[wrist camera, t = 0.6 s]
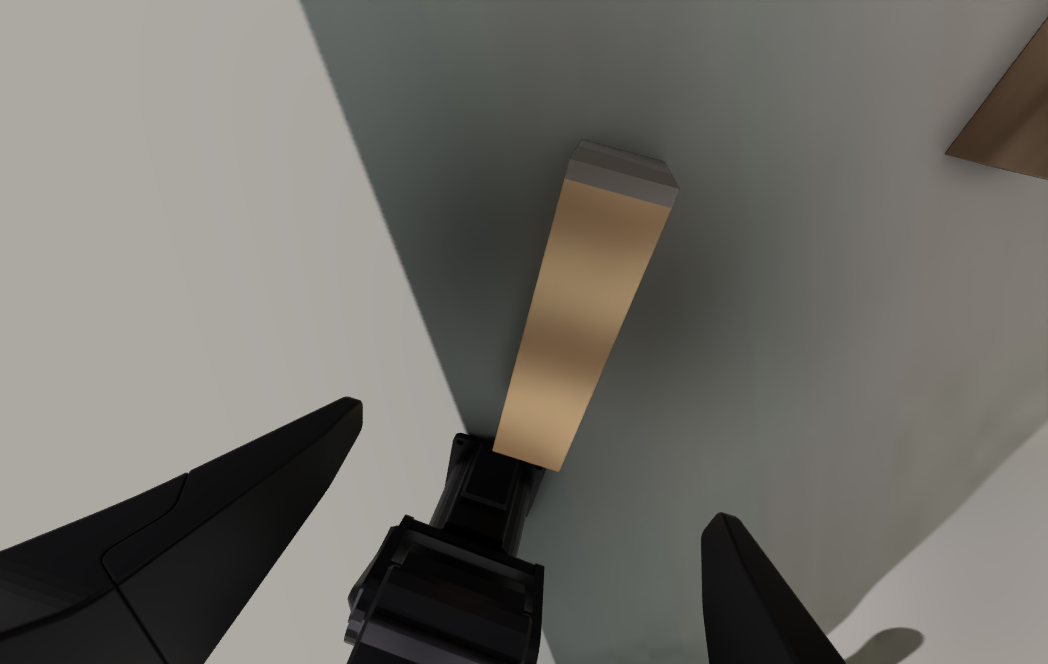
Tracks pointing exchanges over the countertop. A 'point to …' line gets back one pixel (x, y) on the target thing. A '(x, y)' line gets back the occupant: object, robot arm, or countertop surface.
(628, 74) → the countertop surface
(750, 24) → the countertop surface
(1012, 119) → the notched wooden block
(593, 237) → the oak rail
